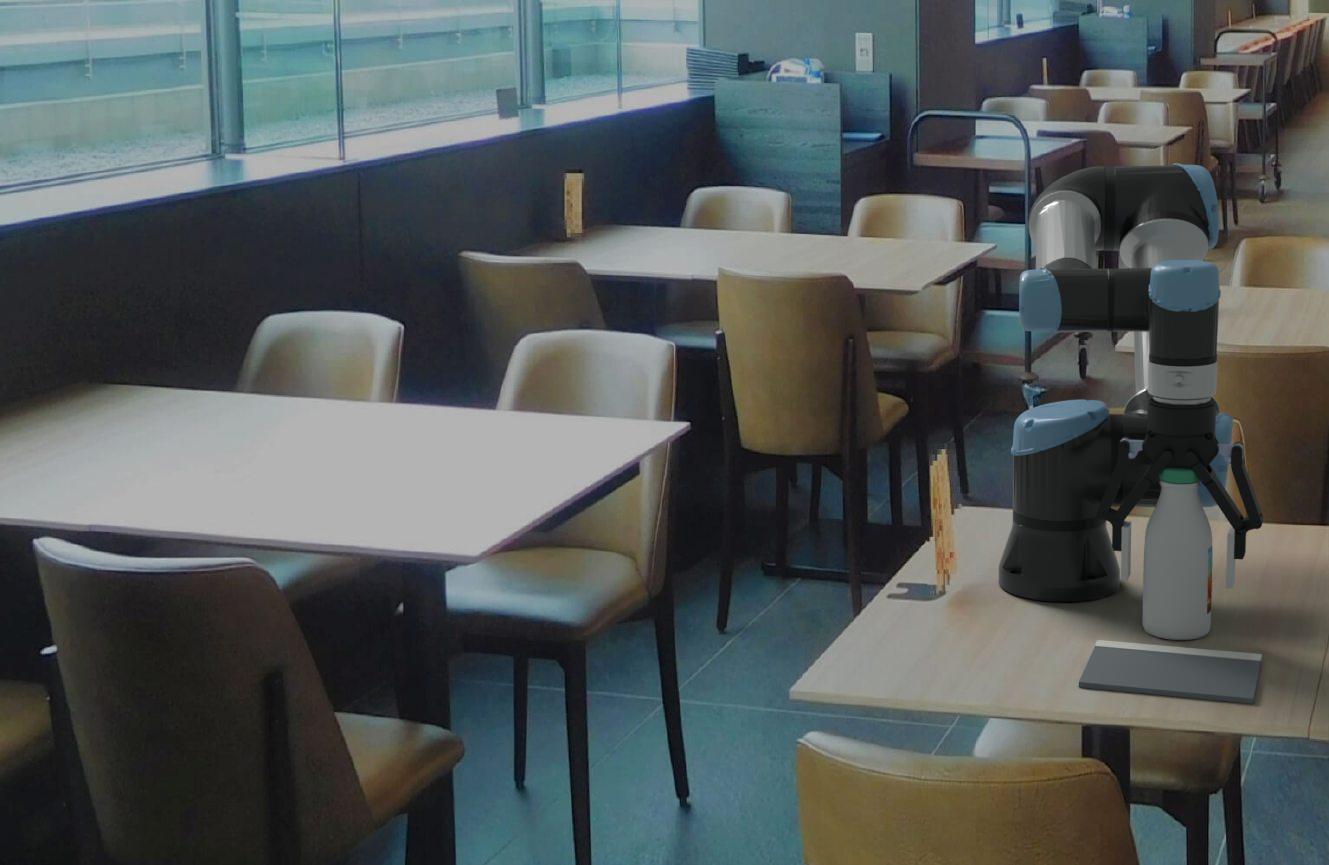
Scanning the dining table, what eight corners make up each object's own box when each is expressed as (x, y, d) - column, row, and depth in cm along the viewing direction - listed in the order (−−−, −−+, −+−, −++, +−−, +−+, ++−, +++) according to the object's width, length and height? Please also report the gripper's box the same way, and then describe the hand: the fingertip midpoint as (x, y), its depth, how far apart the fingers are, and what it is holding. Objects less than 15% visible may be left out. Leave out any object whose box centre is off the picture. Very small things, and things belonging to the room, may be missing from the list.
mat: (1078, 687, 193) (1078, 680, 193) (1097, 645, 205) (1097, 639, 205) (1253, 703, 186) (1253, 697, 186) (1261, 660, 198) (1261, 654, 198)
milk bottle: (1200, 645, 204) (1204, 476, 199) (1133, 636, 208) (1136, 470, 203) (1218, 625, 210) (1223, 461, 206) (1153, 616, 214) (1156, 455, 210)
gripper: (1071, 400, 204) (1070, 583, 209) (1289, 408, 195) (1282, 599, 200) (1082, 387, 210) (1080, 564, 215) (1292, 394, 202) (1285, 579, 207)
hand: (1177, 581), depth 208 cm, fingers open, 11 cm apart
